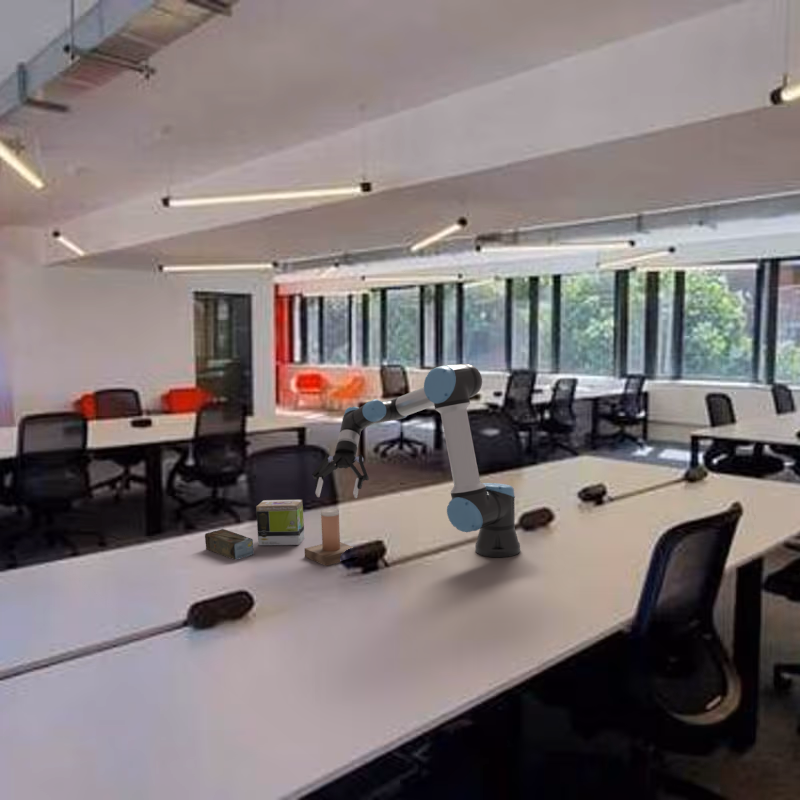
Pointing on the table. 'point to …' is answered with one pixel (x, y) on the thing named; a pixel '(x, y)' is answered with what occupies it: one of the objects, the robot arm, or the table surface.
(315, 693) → the table surface
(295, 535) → the tea box
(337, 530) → the terracotta canister
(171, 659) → the table surface
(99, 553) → the table surface
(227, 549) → the beverage carton
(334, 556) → the wooden square slab
